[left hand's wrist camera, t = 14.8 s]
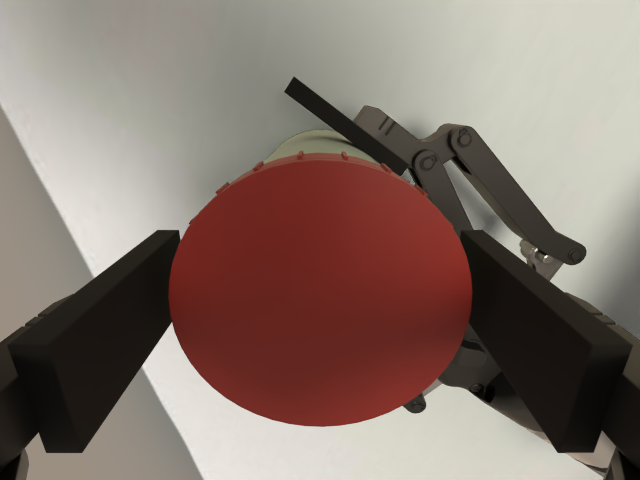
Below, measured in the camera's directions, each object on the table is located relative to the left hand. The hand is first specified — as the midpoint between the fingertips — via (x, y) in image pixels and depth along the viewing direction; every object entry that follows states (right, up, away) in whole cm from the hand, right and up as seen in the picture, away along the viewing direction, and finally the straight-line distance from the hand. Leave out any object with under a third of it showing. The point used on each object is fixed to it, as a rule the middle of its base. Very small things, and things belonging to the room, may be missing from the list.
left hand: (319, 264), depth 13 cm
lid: (0, -1, -3) cm, 3 cm away
